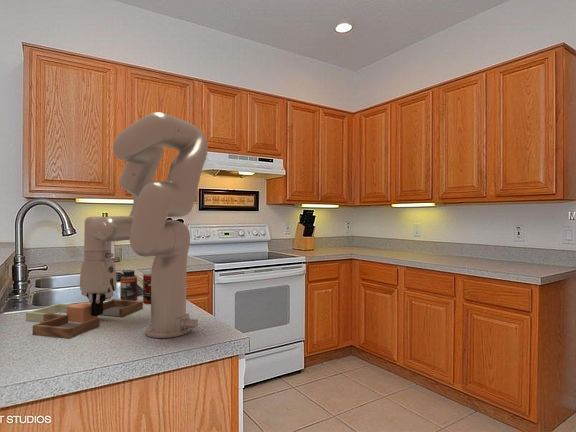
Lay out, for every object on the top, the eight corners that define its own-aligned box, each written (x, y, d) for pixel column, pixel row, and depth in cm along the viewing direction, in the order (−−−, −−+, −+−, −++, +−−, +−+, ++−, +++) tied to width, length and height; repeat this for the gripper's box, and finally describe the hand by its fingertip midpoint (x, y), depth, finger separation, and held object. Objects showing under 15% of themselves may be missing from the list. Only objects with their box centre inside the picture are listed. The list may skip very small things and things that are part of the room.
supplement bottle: (132, 297, 145) (132, 269, 145) (140, 299, 141) (140, 270, 141) (117, 300, 140) (117, 270, 140) (125, 302, 137) (125, 272, 137)
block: (97, 317, 117) (97, 303, 117) (83, 323, 111) (83, 308, 111) (81, 316, 118) (82, 302, 118) (66, 321, 112) (66, 306, 112)
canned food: (139, 301, 138) (140, 272, 138) (160, 298, 144) (160, 270, 144) (147, 305, 133) (147, 275, 133) (168, 302, 138) (169, 273, 138)
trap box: (142, 308, 128) (142, 301, 128) (69, 338, 97) (69, 329, 97) (81, 303, 134) (81, 297, 134) (-7, 330, 103) (-7, 321, 103)
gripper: (126, 256, 116) (126, 313, 116) (86, 254, 119) (85, 310, 119) (110, 258, 108) (109, 320, 108) (68, 256, 112) (67, 316, 112)
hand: (97, 314), depth 114 cm, fingers closed
